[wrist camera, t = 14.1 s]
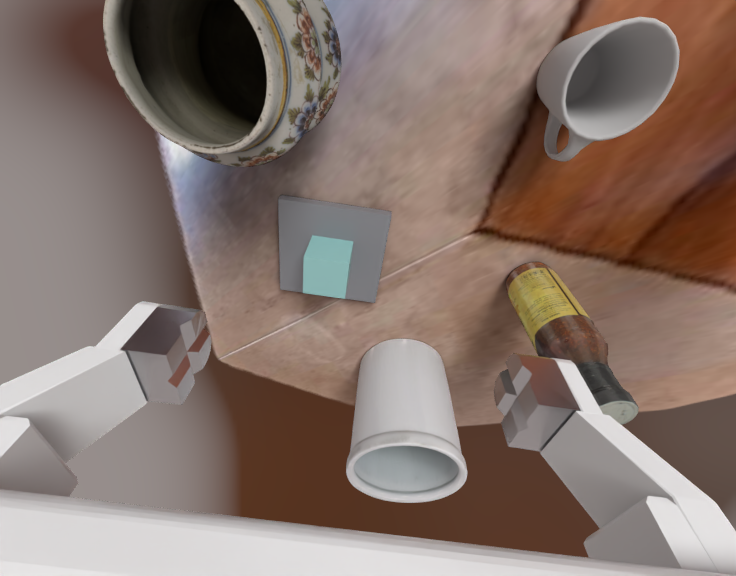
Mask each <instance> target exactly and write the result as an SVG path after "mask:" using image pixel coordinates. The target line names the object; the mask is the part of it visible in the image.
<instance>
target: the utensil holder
mask: <svg viewBox="0 0 736 576" xmlns="http://www.w3.org/2000/svg"><path fill="white" fill-rule="evenodd" d="M346 474H347V477H348V479H349V481H350V483H351V484H352V485H353V486H354V487H355V488H357V489H358V490H360V491H361V492H363V493H365V494H367V495H370V496H372V497H375V498H378V499H382V500H386V501H393V502H403V503H417V502H427V501H432V500H437V499H440V498H444V497H446V496H448V495H450V494H452V493H454V492H456V491H457V490H458V489H460V488H461V487H462V486H463V484H464V483H465V481H466V478H467V467H466V463H465V459H464V457H463V455H462V453H461V447H460V442H459V437H458V432H457V427H456V422H455V417H454V412H453V407H452V402H451V396H450V391H449V386H448V382H447V378H446V373H445V369H444V365H443V361H442V359H441V357H440V355H439V354H438V352H437V351H436V350H435V349H433V348H432V347H431V346H429V345H427V344H425V343H423V342H420V341H417V340H412V339H391V340H387V341H384V342H381V343H379V344H377V345H375V346H374V347H372V348H371V349H370V350H368V351H367V352H366V354H365V355H364V357H363V358H362V361H361V365H360V371H359V379H358V386H357V395H356V404H355V413H354V422H353V432H352V442H351V450H350V454H349V456H348V459H347V464H346Z"/></svg>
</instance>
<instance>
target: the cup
mask: <svg viewBox="0 0 736 576" xmlns="http://www.w3.org/2000/svg"><path fill="white" fill-rule="evenodd" d="M678 67H679V47H678V44H677V40H676V36H675V35H674V33H673V32H672V31H671V29H670V28H669V27H668V25H666V24H664V23H662V22H661V21H659V20H657V19H655V18H646V17H637V18H632V19H627V20H622V21H619V22H615V23H612V24H608V25H605V26H601V27H598V28H594V29H592V30H589V31H586V32H584V33H581V34H578V35H576V36H573V37H571V38H568V39H566V40H564V41H562V42H561V43H559V44H558V45H557V46H556V47H554V48H553V49H552V50H551V51H550V53H549V54H548V55H547V56H546V57H545V59H544V61H543V63H542V65H541V66H540V69H539V72H538V75H537V84H536V86H537V92H538V95H539V97H540V99H541V101H542V102H543V103H544V105H545V106H546V107H547V108H548V109H549V117H548V121H547V125H546V130H545V135H544V148H545V152H546V153H547V155H548V156H549V157H550V158H551V159H554V160H558V161H568V160H570V159H572V158H573V157H574V156H575V155H576V154H577V153H578V152H579V151H580V150H581V149H582V148H584V147H585V146H587V145H588V144H590V143H592V142H593V141H602V140H608V139H613V138H616V137H618V136H621V135H623V134H626V133H628V132H629V131H631V130H633V129H634V128H636V127H637V126H639V125H641V124H642V123H643V122H644V121H645V120H646V119H647V118H649V117H650V116H651V115H652V114H653V113H654V112H655V111H656V110H657V108H658V107H659V106H660V104H661V103H662V102H663V101H664V99H665V98H666V96H667V94H668V93H669V91H670V89H671V87H672V85H673V83H674V80H675V77H676V74H677V70H678ZM562 124H563V125H565V126H566V127H567V128H568V129H569V141H568V145H567V146H566V147H565V148H564V149H563V150H562V151H561V152H560V153H558V151H557V146H556V143H557V136H558V132H559V129H560V127H561V125H562Z"/></svg>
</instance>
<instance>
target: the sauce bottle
mask: <svg viewBox="0 0 736 576" xmlns="http://www.w3.org/2000/svg"><path fill="white" fill-rule="evenodd" d="M506 287H507V292H508V296H509V299H510V301H511V303H512V305H513V307H514V309H515V310H516V312H517V314H518V316H519V319H520V321H521V323H522V324H523V326H524V328H525V330H526V332H527V334H528V336H529V338H530V340H531V342H532V344H533V346H534V348H535V350H536V352H537V354H538V356H540V357H547V358H556V359H564V360H570V361H572V362H573V363H574V364H575V365H576V367H577V369H578V370H579V372H580V374H581V376H582V378H583V379H584V381H585V383H586V385H587V386H588V388H589V390H590V392H591V393H592V395H593V397H594V399H595V401H596V402H597V404H598V406H599V408H600V409H601V411H602V413H603V414H604V415H610V416H611V417H612V418H613V419H614V420H616V421H617V422H618V423H619V424H621V425H622V424H625V423H628V422H629V421H631V420H632V419H633V418H634V417H635V416H636V415H637V413H638V406H637V404H636V403H635V401H634V399H633V398H632V396H631V395H630V394H629V393H628V392H627V391H626V390H624V389H623V388H622V387H621V385H620V384H619V382H618V381H617V379H616V378H615V377H614V375H613V372H612V371H611V369H610V368H609V366H608V362H607V355H608V344H607V343H606V342H605V340H604V338H603V336H602V335H601V334H600V333H599V331H598V330H597V329H596V327H595V326H594V323H593V321H592V320H591V319H590V317H589V316H588V315H587V313H586V312H585V311H584V310H583V308H582V307H581V306H580V304H579V303H578V302H577V300H576V299H575V298H574V296H573V295H572V294H571V292H570V291H569V290H568V288H567V287H566V286H565V284H564V283H563V282H562V280H561V279H560V278H559V276H558V275H557V274H556V273H555V272H554V271H553V270H552V269H551V268H550V267H548V266H547V265H545V264H543V263H540V262H531V263H527V264H523V265H521V266H519V267H517V268H516V269H514V270H513V271H512V272H511V273H510V275H509V277H508V278H507V281H506Z"/></svg>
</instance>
